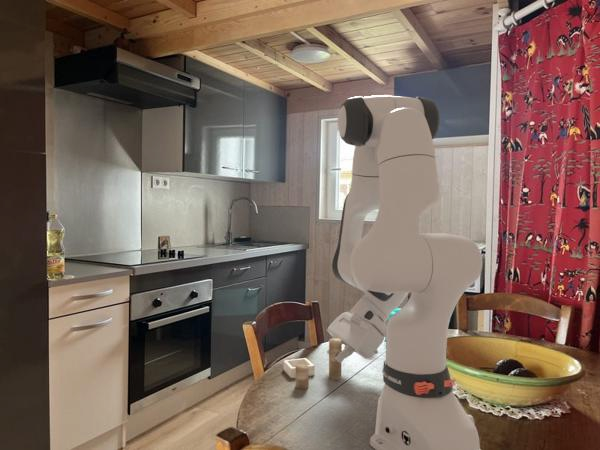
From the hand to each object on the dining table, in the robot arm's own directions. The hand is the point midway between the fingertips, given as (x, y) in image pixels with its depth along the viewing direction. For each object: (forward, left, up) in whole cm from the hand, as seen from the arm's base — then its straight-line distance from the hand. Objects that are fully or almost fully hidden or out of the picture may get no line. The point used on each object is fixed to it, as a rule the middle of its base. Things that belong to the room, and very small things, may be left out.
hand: (333, 357), depth 114 cm
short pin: (-2, +9, -5) cm, 11 cm away
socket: (+7, +7, -5) cm, 11 cm away
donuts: (+24, -35, -6) cm, 42 cm away
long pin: (0, -1, -5) cm, 5 cm away
